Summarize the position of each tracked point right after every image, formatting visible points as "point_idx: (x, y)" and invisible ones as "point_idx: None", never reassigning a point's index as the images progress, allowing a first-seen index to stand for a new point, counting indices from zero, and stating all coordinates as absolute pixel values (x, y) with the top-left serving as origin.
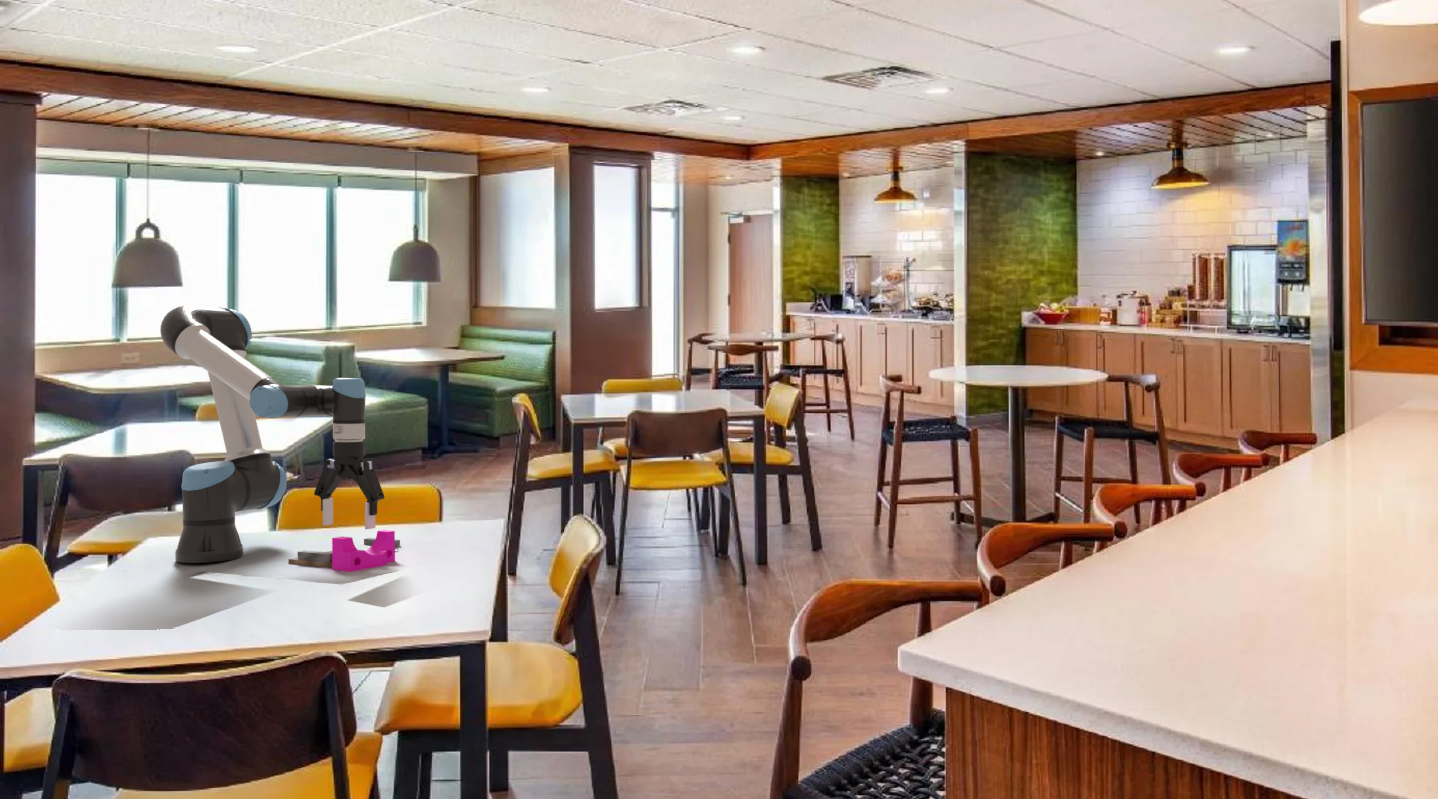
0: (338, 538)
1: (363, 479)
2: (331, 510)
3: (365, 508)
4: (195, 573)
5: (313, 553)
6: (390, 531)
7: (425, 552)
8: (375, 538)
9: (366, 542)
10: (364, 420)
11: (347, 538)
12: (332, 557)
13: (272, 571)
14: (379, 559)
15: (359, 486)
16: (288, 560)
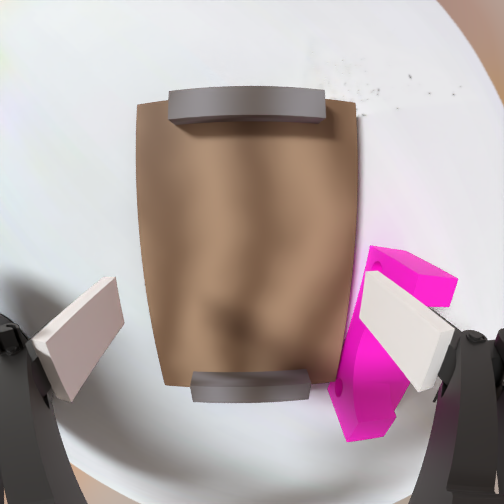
0: (369, 438)
1: (469, 499)
2: (87, 317)
3: (405, 371)
4: (129, 457)
5: (250, 401)
6: (451, 293)
7: (389, 95)
8: (203, 91)
9: (183, 121)
10: None
11: (389, 426)
12: (334, 407)
13: (223, 436)
14: None
15: (421, 482)
16: (165, 383)
